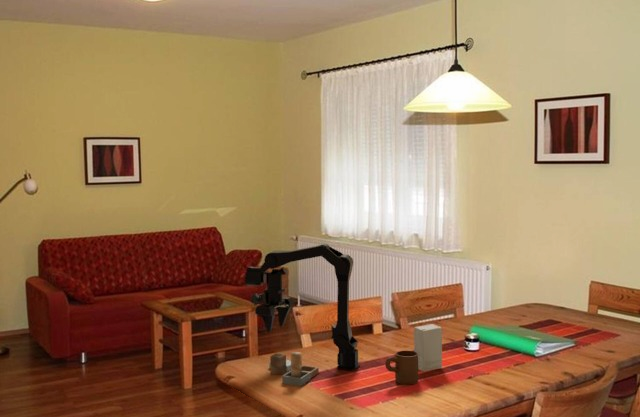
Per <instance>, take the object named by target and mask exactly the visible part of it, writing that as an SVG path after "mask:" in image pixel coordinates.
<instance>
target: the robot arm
mask: <svg viewBox="0 0 640 417" xmlns="http://www.w3.org/2000/svg"><path fill="white" fill-rule="evenodd" d="M318 257H319V258H320V257H322V258H323V259H324V260H326V262H327V263H329V264H330V265H331V266H333V267H334V273H335V277H336V281H337V304H336V306H337V310H336V311H337V313H336V314H337V316H336V317H337V318H336V319H337V320H336V322H335V323H333V325H332V326H331V334H332V335H331V336H330V337H331V338H330V339H332V342H333V344H334V345H335V346H336V347H337V349H338V353H337V356H336V357H337V359H336V360H337V361H336V362H337V366H336V369H340V370H347V371H348V370H349V371H355V370H357V369H358V368H359V367H360V366H361V364H360V363H359V349H357V347H358V343H359V341H358V339H357V338H355V337H354V336H353V333H352V332H353V331H352V326H351V323H350V319H349V318H350V317H349V316H350V313H349V312H350V310H349V309H350V278H351V276H352V272H353V268H354V267H353V266H354V259H353V257H351V255H350V254H346V253H345V254H343V253H342V252H341V251H339V250H337V249H335V248H333V247H331V246H330V245H329V244H328V243H322V244H319V245H318V244H317V245H314V246H309V247H305V248H303V247H302V248H299V249H298V248H297V249H294V250H285V249H284V250H280V249H279V250H273V251H271V252H268V253H267V254H266V255H265V257H264V262H263V264H261V266H260V267H259V266H258V267H257V266H250V265H249V266H247V267H246V271H245V276H244V283H245V284H244V285H245V286H247V287H248V286H251V287H252V286H253V287H255V286H256V287H262V286H263V285H264V284H266V288H265V289H263V293H259V294H258V293H257V292H256V293H253V294H251V295H250V303H251V304H253V305H254V306H256V307H255V308H254V314H255V315H257V316H258V317H260V318H262V321H263V324H264V327H265V329H266V332H267V333H271V332H272V328H273V326H274V325H273V324H274V320H275V316H276V313H275V312H276V311H277V317H278V325H279V327H284V325H285V322H286V320H287V316H288V314H289V313H290V311H291V308H293V306H294V299H293V297H291V296H283V292H285V291H286V290H285V288H283V275H284V276H285V275H287V274H289V271H288V270H287V269H286V268H285V267H284V265H288V264H289V263H293V262H297V261H302V260H303V261H304V260H307V259H313V258H318ZM279 267H281V268H279ZM269 270H271V271H269Z"/></svg>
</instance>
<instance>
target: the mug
mask: <svg viewBox="0 0 640 417" xmlns="http://www.w3.org/2000/svg"><path fill="white" fill-rule="evenodd" d="M391 362H392V363H394V366H392V365H391ZM384 364H385V368H386V370H387V371H388V372H390V373H391V372H392V373H394V379H395V381H396V382H397V383H398V384H400V385H407V386H409V385H414V384H416V383H418V382H419V369H418V353H417V352H414V351H413V350H399V351H396V352H395V356H389V357H388V358H386V359H385V363H384Z"/></svg>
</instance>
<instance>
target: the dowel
mask: <svg viewBox="0 0 640 417" xmlns="http://www.w3.org/2000/svg"><path fill="white" fill-rule="evenodd" d="M302 357H303V354H302V352H300V351H292V352H290V361H291V377H296V378H301V377H302V366H303V358H302Z"/></svg>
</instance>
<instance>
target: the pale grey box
mask: <svg viewBox="0 0 640 417" xmlns="http://www.w3.org/2000/svg"><path fill="white" fill-rule="evenodd" d="M268 367H269V369H270V361H269V362H268ZM286 371H287V372H286V373H288V371H291V359H290V360H289V359H286Z"/></svg>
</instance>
